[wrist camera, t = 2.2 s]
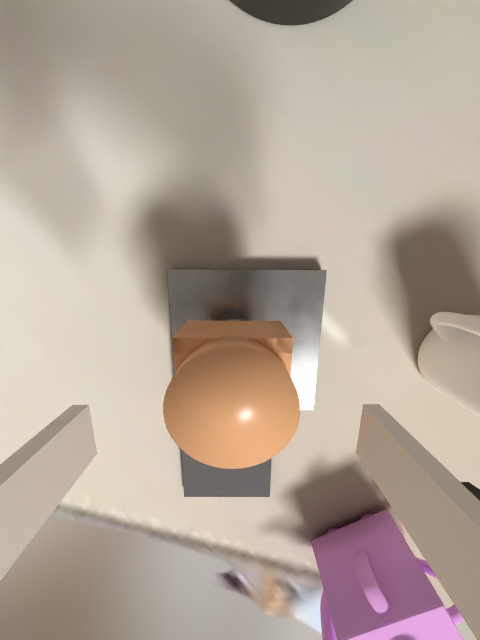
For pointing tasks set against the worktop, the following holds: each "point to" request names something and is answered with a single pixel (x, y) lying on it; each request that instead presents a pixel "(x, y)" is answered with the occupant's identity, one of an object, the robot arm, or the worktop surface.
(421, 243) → the worktop surface
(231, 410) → the cap
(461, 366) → the cup
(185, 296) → the post fixture
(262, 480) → the pad
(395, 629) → the teapot
